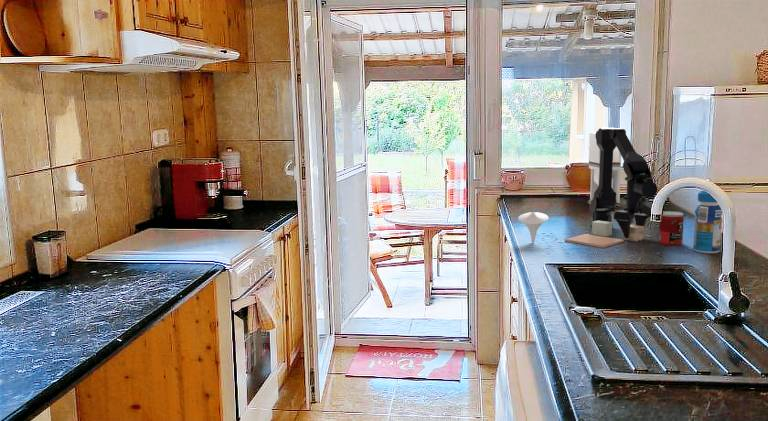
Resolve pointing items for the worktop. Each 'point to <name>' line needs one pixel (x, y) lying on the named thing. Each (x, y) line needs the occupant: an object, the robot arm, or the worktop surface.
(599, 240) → the terracotta tile
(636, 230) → the beech block
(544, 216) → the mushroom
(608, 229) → the sage block
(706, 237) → the beverage bottle
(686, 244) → the worktop surface
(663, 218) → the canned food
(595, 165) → the tall white pillar
